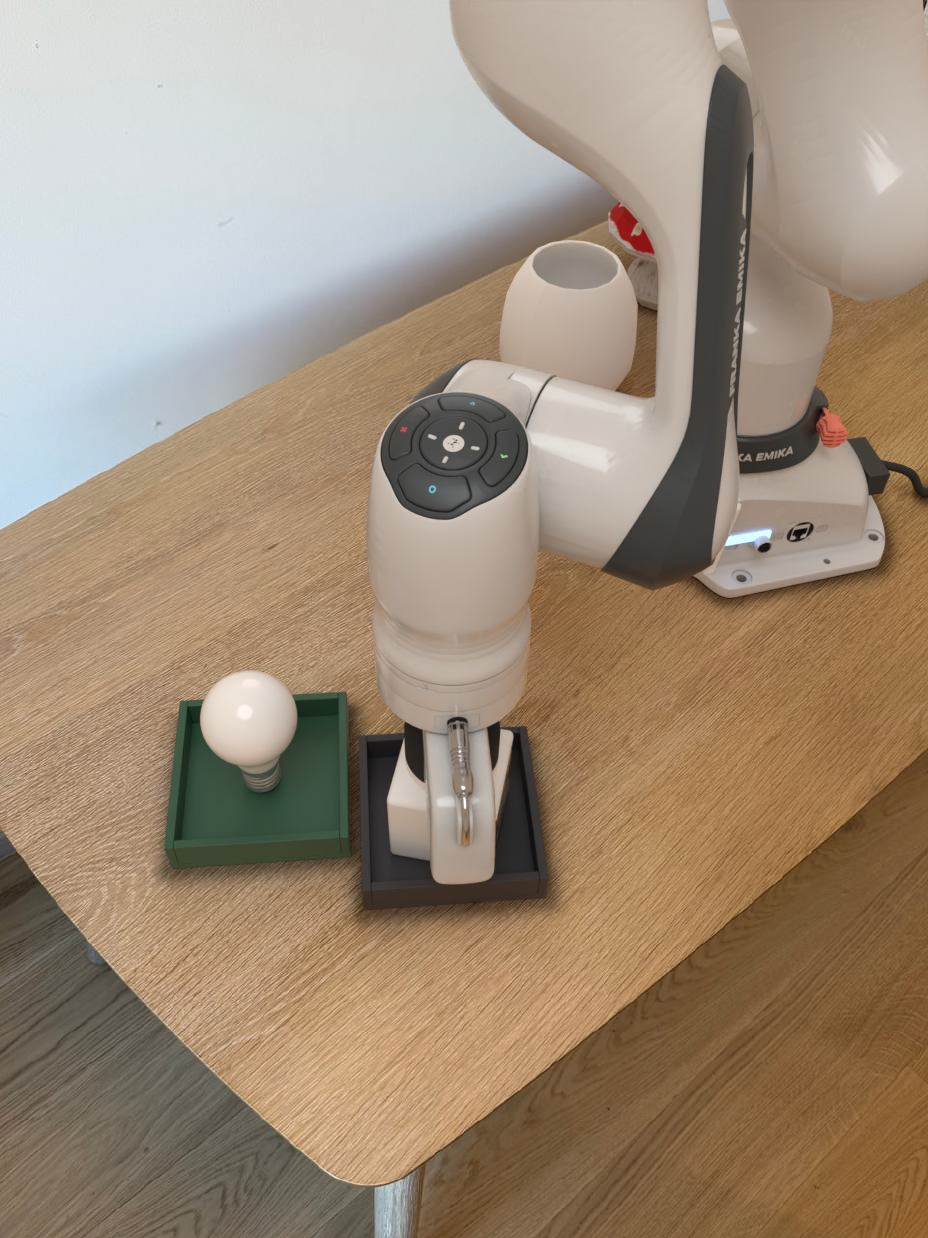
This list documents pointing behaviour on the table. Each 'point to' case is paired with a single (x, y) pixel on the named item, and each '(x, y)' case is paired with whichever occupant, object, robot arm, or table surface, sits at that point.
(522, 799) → the tray
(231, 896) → the table surface
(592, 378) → the white vase
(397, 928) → the table surface
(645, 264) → the decorative mushroom
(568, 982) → the table surface
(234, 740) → the lightbulb
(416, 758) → the medicine bottle
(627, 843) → the table surface
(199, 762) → the bulb tray
